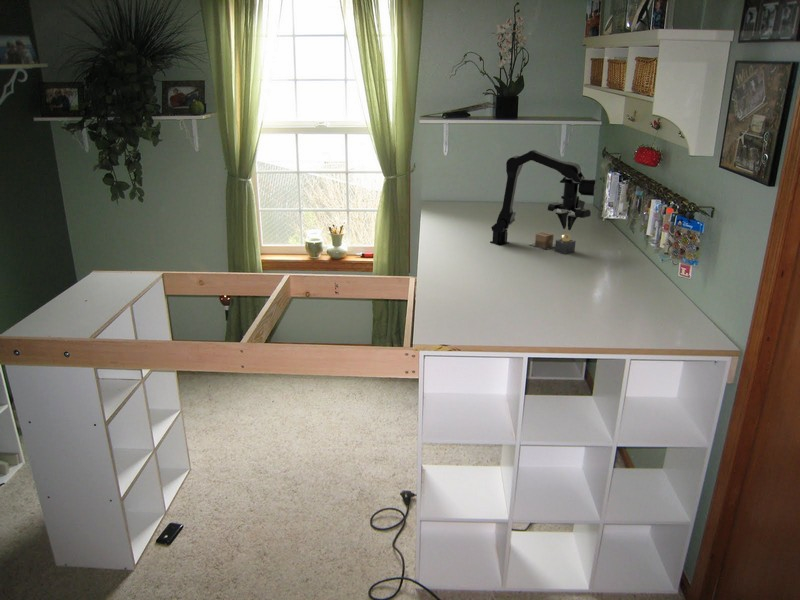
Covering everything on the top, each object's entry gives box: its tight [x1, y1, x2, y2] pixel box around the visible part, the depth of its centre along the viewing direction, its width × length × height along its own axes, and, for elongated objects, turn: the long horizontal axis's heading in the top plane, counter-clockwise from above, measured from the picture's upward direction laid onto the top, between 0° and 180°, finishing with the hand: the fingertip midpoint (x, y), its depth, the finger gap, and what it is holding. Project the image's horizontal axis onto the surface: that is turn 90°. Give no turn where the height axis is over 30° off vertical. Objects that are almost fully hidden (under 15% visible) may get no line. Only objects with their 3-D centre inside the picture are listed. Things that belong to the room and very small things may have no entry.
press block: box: [554, 238, 577, 255], centre depth 283 cm, size 6×6×5 cm
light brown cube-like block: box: [534, 231, 554, 247], centre depth 292 cm, size 6×6×5 cm
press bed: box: [529, 242, 556, 251], centre depth 293 cm, size 9×9×1 cm
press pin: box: [561, 233, 572, 242], centre depth 282 cm, size 4×4×5 cm
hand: (566, 229), depth 281 cm, fingers open, 2 cm apart
